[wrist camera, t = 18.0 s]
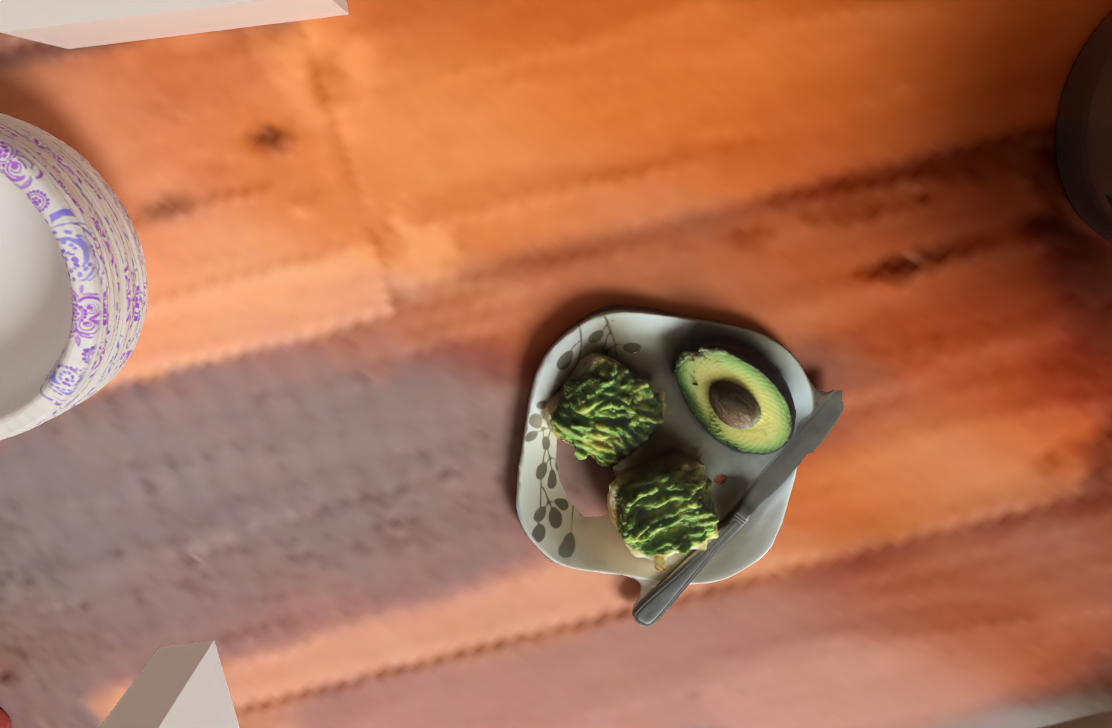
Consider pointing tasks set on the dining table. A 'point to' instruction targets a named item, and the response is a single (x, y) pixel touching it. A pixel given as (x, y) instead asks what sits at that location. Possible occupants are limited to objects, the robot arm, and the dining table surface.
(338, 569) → the dining table surface
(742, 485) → the salad plate
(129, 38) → the white flat block
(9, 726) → the stacking bear
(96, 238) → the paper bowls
